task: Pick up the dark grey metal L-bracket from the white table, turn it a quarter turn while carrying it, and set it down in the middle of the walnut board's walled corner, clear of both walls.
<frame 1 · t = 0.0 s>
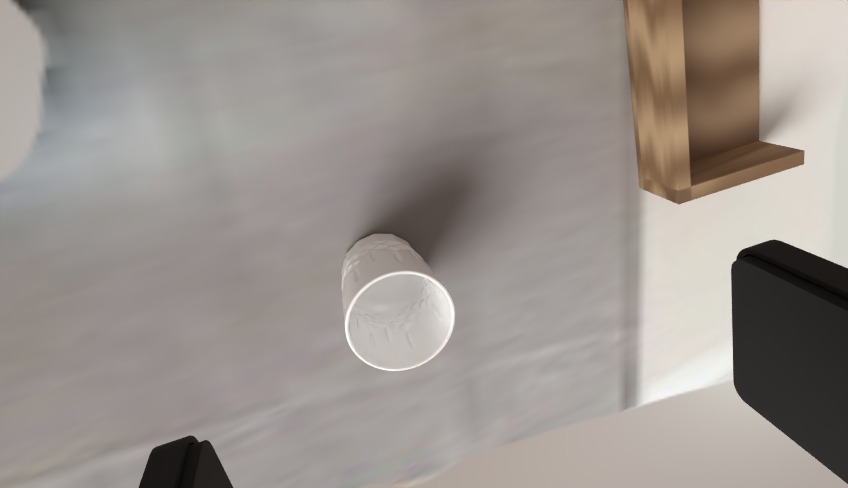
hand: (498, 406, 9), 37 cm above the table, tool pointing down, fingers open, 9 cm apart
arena: (693, 72, 48), on the table
white cup: (380, 268, 48), on the table
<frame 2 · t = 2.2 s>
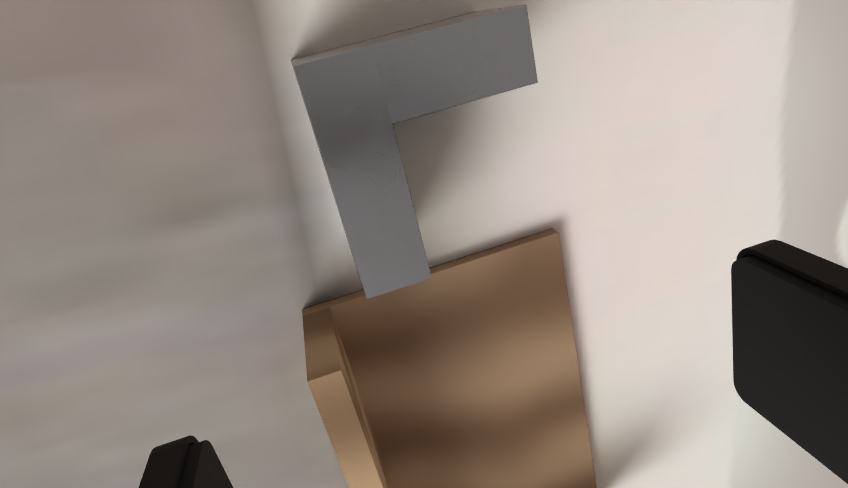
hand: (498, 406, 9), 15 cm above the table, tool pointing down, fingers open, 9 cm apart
bracket: (351, 153, 22), on the table
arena: (470, 420, 29), on the table
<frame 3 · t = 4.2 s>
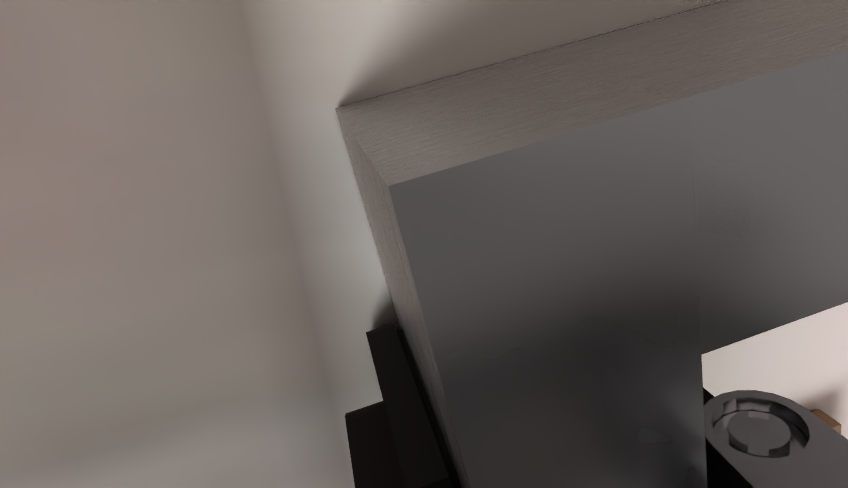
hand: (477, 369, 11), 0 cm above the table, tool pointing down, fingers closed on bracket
bracket: (461, 305, 10), on the table, touching gripper
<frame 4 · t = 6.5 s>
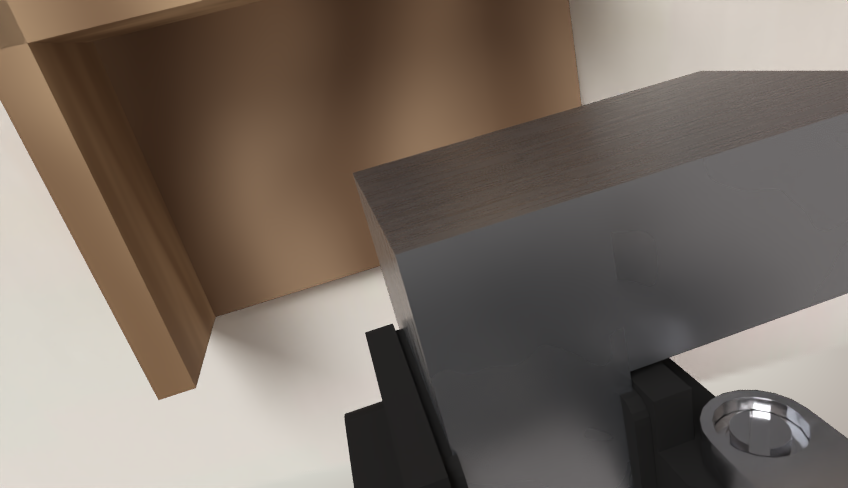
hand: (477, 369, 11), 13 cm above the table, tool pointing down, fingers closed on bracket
bracket: (459, 334, 12), point 12 cm above the table, touching gripper
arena: (357, 118, 22), on the table
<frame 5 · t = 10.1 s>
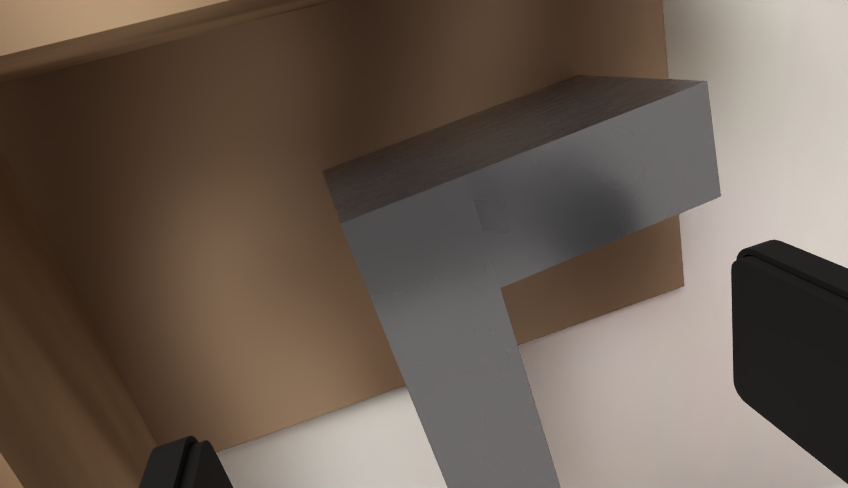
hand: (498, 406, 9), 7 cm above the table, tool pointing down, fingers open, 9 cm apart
bracket: (413, 285, 16), point 1 cm above the table, touching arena
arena: (370, 189, 15), on the table
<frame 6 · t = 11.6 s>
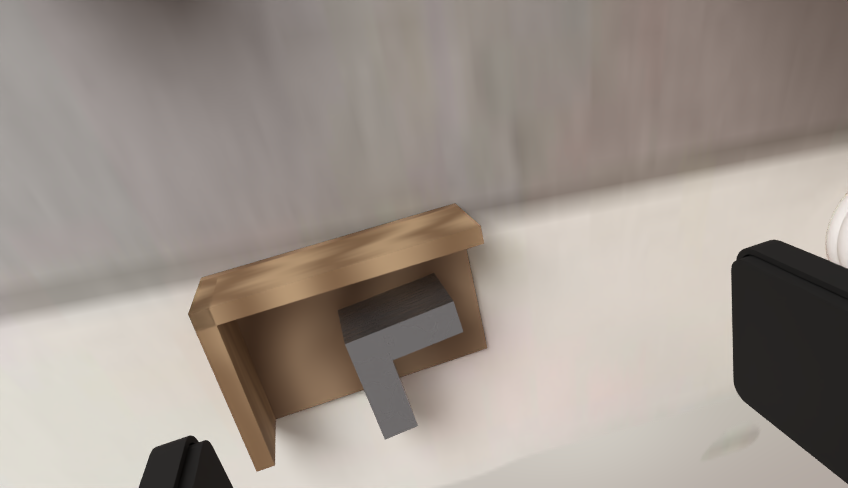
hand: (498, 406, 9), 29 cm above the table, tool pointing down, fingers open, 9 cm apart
bracket: (371, 349, 41), point 1 cm above the table, touching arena
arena: (355, 313, 40), on the table
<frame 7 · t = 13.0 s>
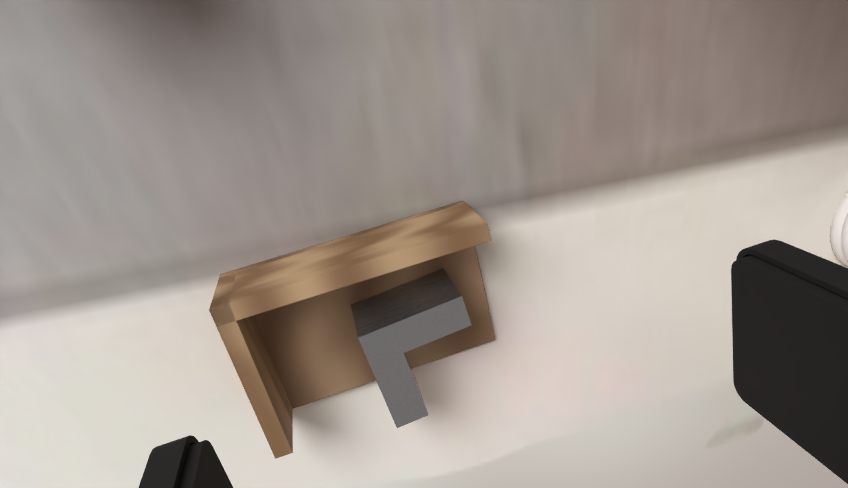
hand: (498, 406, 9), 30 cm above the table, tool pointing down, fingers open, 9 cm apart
bracket: (383, 341, 43), point 1 cm above the table, touching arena
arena: (367, 307, 42), on the table
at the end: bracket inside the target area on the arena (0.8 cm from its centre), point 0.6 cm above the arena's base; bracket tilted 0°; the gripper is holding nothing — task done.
